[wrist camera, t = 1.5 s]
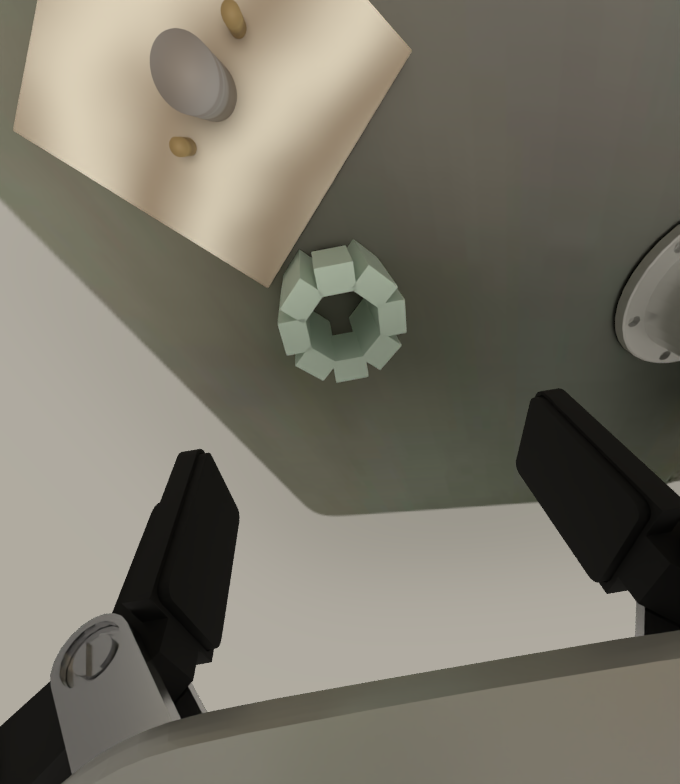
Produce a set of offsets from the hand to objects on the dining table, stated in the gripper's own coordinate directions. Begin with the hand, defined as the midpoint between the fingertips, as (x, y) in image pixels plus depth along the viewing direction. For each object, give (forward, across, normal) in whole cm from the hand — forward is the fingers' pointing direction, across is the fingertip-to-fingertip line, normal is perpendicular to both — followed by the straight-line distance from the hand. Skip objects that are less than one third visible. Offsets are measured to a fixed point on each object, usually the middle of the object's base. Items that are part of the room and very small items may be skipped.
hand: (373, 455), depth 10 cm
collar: (+17, 0, +1) cm, 17 cm away
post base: (+17, +4, -10) cm, 20 cm away
